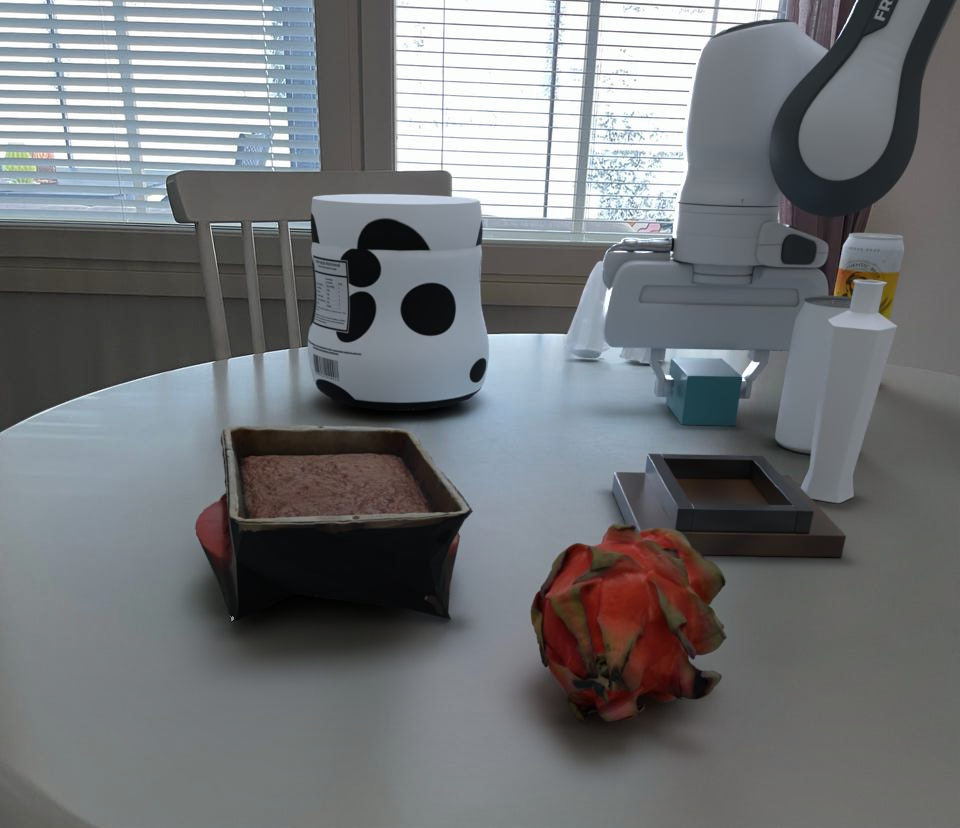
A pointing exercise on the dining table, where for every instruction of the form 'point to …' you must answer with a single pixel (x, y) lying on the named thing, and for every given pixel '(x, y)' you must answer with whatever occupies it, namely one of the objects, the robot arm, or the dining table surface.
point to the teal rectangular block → (704, 391)
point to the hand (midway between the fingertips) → (701, 396)
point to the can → (805, 372)
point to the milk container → (397, 300)
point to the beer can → (871, 265)
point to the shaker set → (594, 323)
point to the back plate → (727, 506)
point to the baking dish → (332, 519)
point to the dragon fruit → (629, 621)
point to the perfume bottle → (848, 391)
